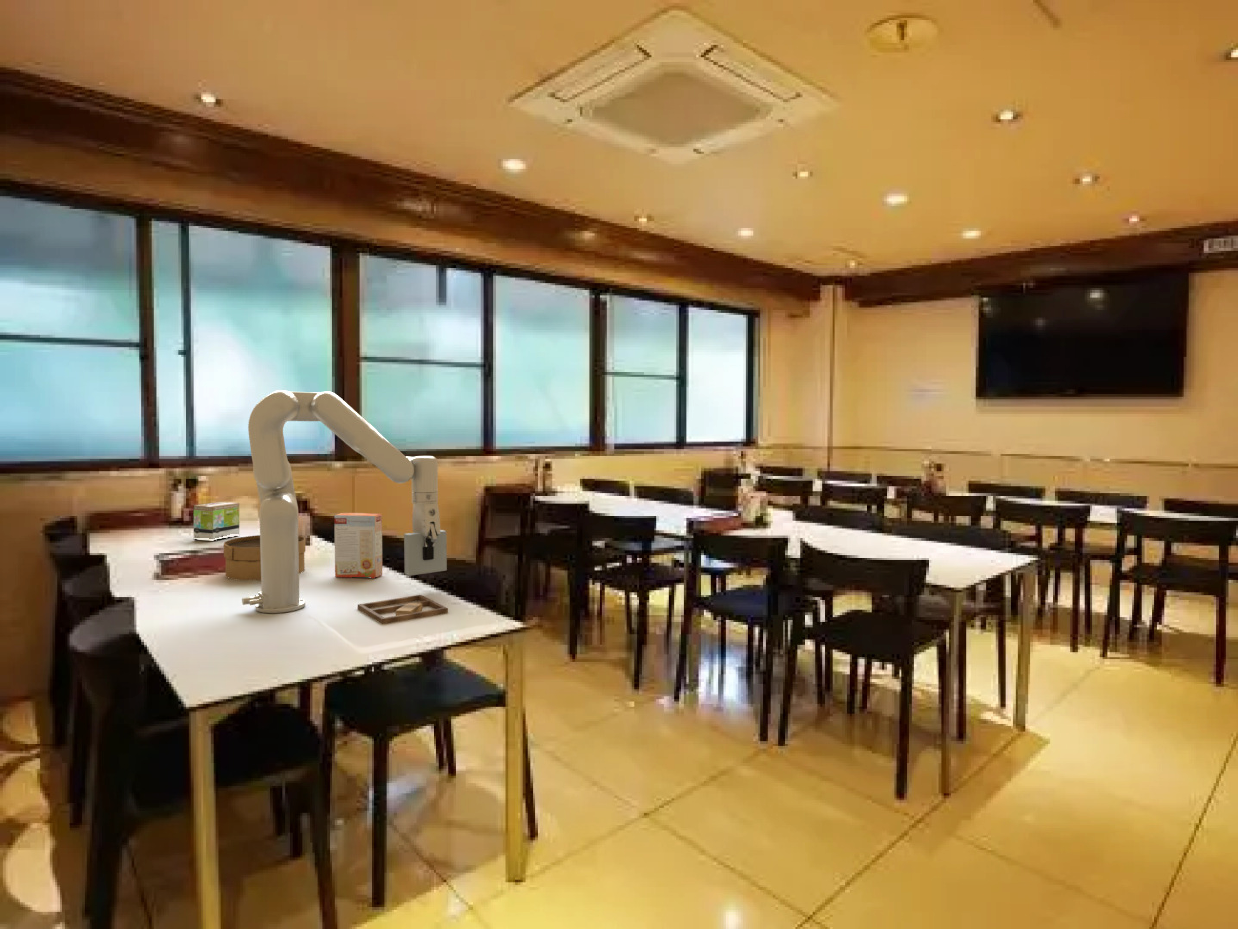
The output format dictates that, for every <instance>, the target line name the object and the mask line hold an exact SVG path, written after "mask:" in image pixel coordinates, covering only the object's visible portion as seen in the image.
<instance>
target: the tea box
mask: <svg viewBox="0 0 1238 929" xmlns="http://www.w3.org/2000/svg"><path fill="white" fill-rule="evenodd" d="M230 534H239V535H240V503H239V502H229V501H218V502H211V503H203V504H195V505H193V539H194V538H209V539H215V538H219V537H223V536H227V535H230Z"/></svg>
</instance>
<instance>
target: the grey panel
mask: <svg viewBox="0 0 1238 929" xmlns="http://www.w3.org/2000/svg"><path fill="white" fill-rule="evenodd" d="M428 536H431V535H430V534H428ZM428 539H430V538H427V540H428ZM403 541H404V542H403V546H404V550H403V551H404V559H403V560H404V575H406V576H416V575H422V574H431V573H432V574H433V573H437V572H444V571H447V570H448V569H447V568H448V566H447V564H448V563H447V561H448V558H447V556H448V555H447V545H448V544H447V530H444V529H440V535H439V536H437V540H436V541H435V542H434V559H432V560H423V547H424V536H422V535H421V534H420V533H417V532H416V533H414V532H407V533H404V534H403Z"/></svg>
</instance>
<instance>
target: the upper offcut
mask: <svg viewBox="0 0 1238 929" xmlns="http://www.w3.org/2000/svg"><path fill="white" fill-rule="evenodd" d="M405 604H406V605H404V606H402V607H401V608H399V609H397V610H396V611H395V616H397V615H403V614H409V613H415V612H420V611H423V607H422V604H421V603H415V602H406V603H405Z"/></svg>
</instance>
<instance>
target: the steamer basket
mask: <svg viewBox="0 0 1238 929" xmlns="http://www.w3.org/2000/svg"><path fill="white" fill-rule="evenodd" d="M298 551H299V573H300V574H301V572H302V571H303V570H304V571H305V569H306V567H305V564H306V563H305V552H306V538H305V536H301V535H298ZM223 557H224V559H225V572H224V574H225V577H226V578H228V577H229V578H228V579H231V578H232V580H236V579H237V581H261V553H260V534H258V535H248V536H242V537H240V536H239V537H234V538H232V539H228V540H226V541H224V542H223ZM304 571H303V572H304ZM303 572H302V573H303Z"/></svg>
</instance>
